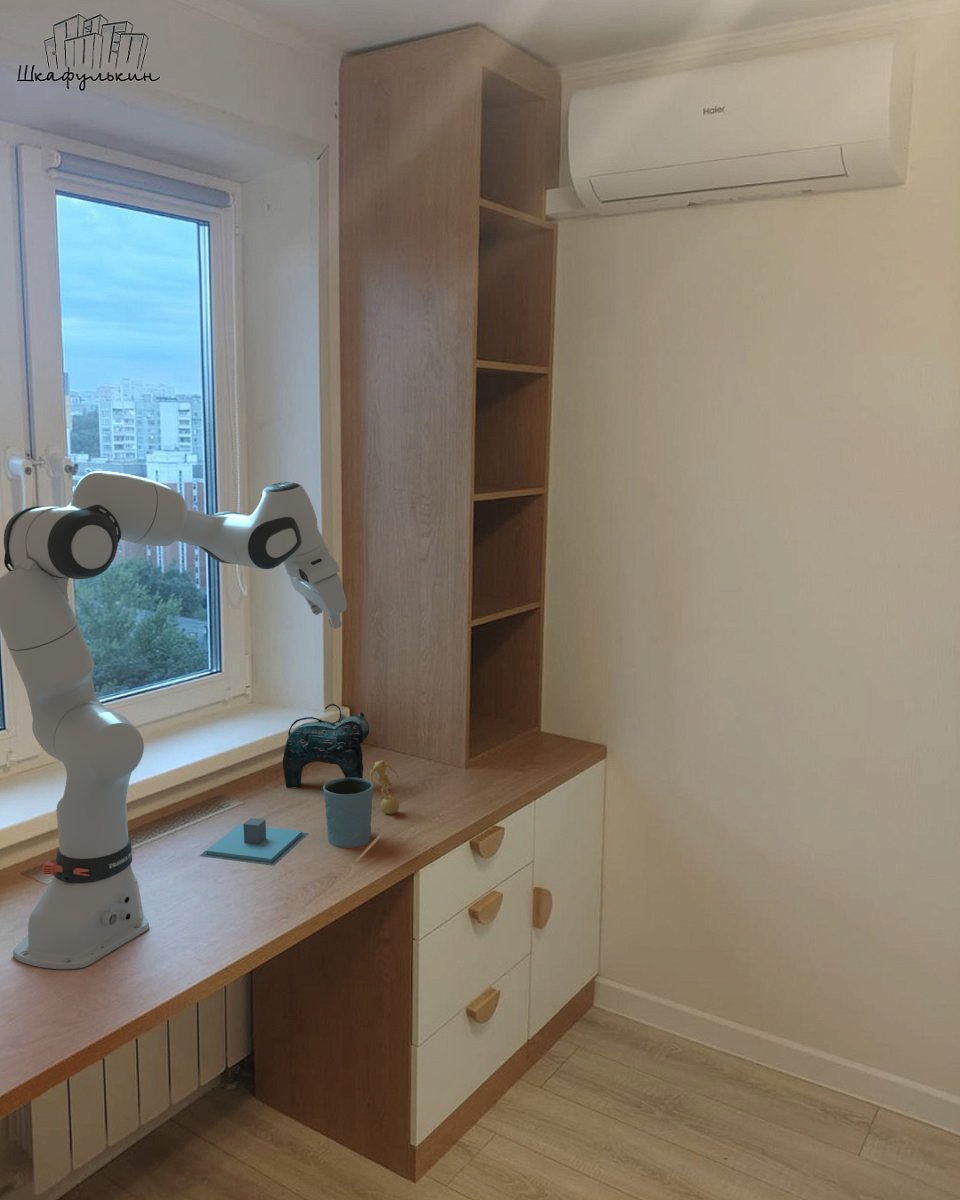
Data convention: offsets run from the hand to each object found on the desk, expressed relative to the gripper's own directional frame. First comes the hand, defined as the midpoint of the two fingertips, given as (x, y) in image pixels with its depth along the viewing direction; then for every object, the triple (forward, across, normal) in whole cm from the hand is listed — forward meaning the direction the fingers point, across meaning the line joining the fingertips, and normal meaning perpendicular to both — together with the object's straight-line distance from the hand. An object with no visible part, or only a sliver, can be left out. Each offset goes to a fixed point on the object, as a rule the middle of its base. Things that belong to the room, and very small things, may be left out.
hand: (327, 619), depth 216 cm
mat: (+36, +6, -31) cm, 48 cm away
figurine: (+47, +3, -2) cm, 47 cm away
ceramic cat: (+48, -18, -8) cm, 52 cm away
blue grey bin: (+42, +13, -14) cm, 46 cm away
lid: (+36, +6, -31) cm, 47 cm away
